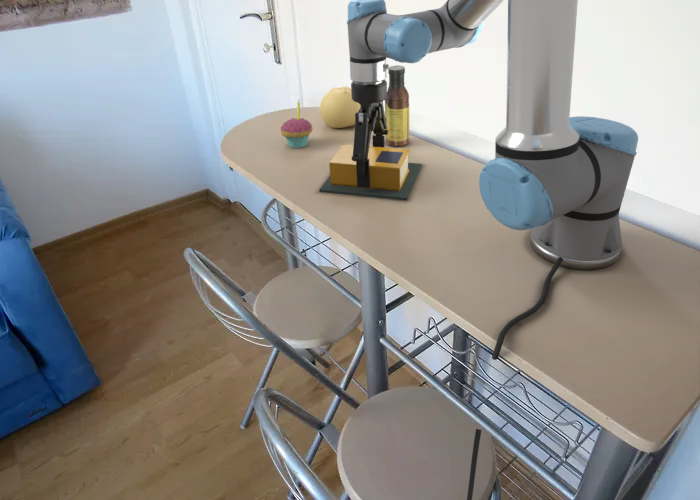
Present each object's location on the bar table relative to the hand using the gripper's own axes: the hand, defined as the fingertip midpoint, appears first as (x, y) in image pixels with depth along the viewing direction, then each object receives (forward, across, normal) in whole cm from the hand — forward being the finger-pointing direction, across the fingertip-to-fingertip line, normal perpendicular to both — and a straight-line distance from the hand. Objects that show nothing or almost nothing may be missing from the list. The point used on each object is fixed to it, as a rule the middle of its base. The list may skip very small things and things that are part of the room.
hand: (371, 174), depth 120 cm
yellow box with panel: (+1, 0, 0) cm, 1 cm away
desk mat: (+2, +1, 0) cm, 2 cm away
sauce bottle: (+2, +23, -1) cm, 23 cm away
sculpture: (+2, +34, +18) cm, 39 cm away
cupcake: (+2, +17, +25) cm, 30 cm away
